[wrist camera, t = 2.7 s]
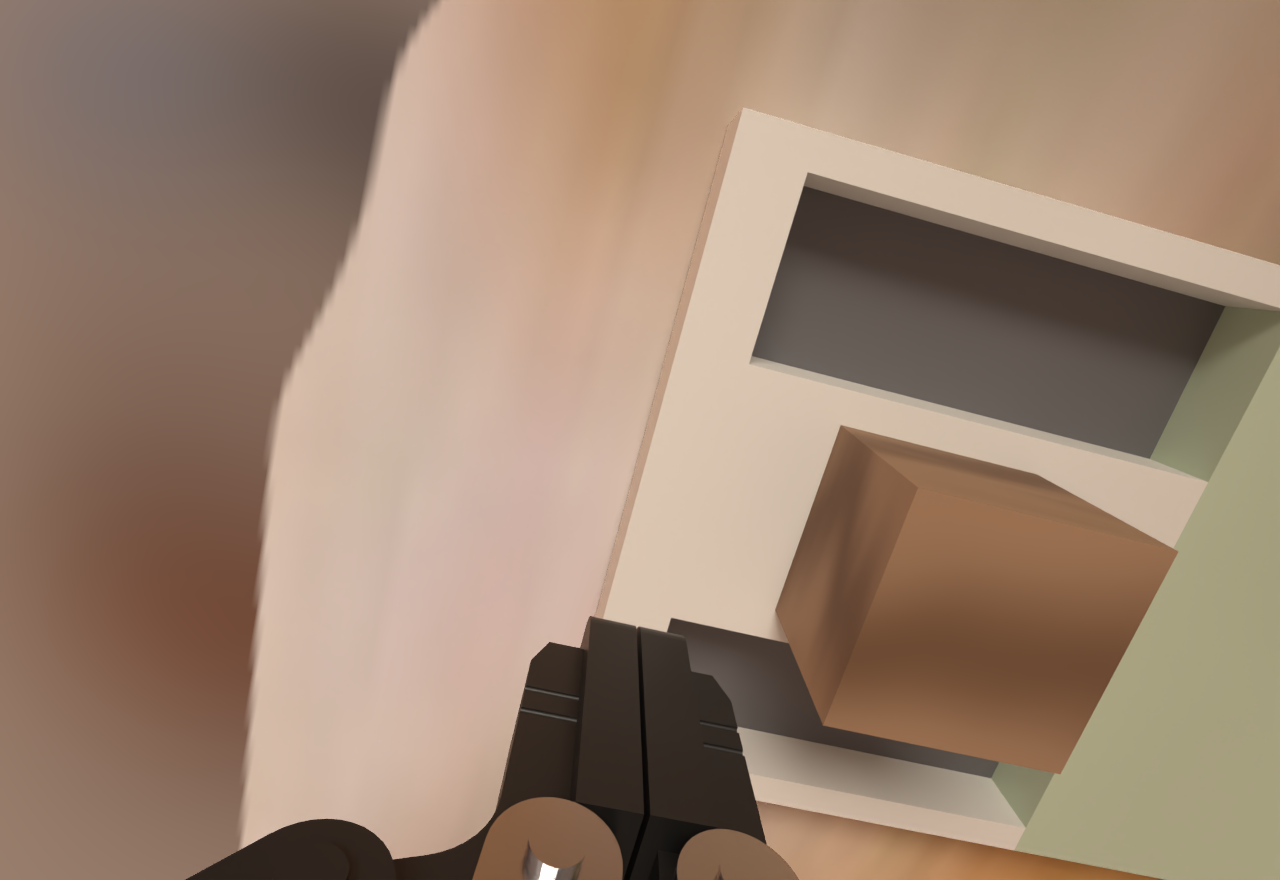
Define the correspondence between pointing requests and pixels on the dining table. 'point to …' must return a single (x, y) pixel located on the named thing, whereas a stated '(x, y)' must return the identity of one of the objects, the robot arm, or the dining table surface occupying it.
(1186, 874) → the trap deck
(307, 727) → the dining table surface
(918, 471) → the walnut block
